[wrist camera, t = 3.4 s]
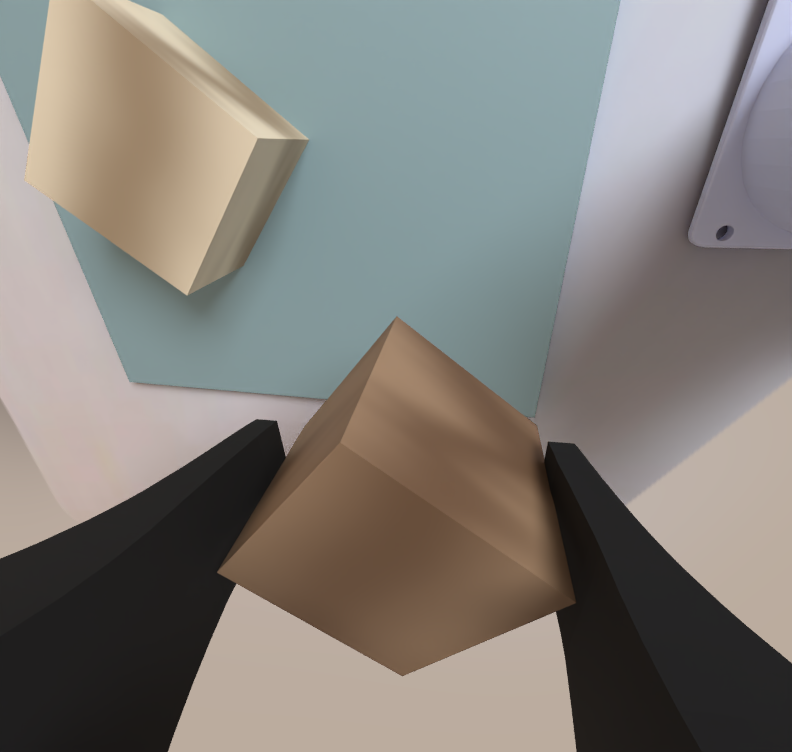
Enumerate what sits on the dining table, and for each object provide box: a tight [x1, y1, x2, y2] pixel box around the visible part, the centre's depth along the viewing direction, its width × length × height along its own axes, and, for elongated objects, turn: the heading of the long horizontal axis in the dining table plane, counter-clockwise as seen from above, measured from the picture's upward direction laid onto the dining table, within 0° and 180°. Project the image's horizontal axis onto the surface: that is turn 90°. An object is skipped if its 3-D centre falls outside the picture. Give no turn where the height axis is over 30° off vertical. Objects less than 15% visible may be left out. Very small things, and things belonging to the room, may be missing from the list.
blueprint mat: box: [0, 0, 620, 418], centre depth 16 cm, size 22×18×1 cm
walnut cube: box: [217, 316, 576, 676], centre depth 10 cm, size 5×5×5 cm
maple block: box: [24, 0, 309, 295], centre depth 14 cm, size 6×6×4 cm
